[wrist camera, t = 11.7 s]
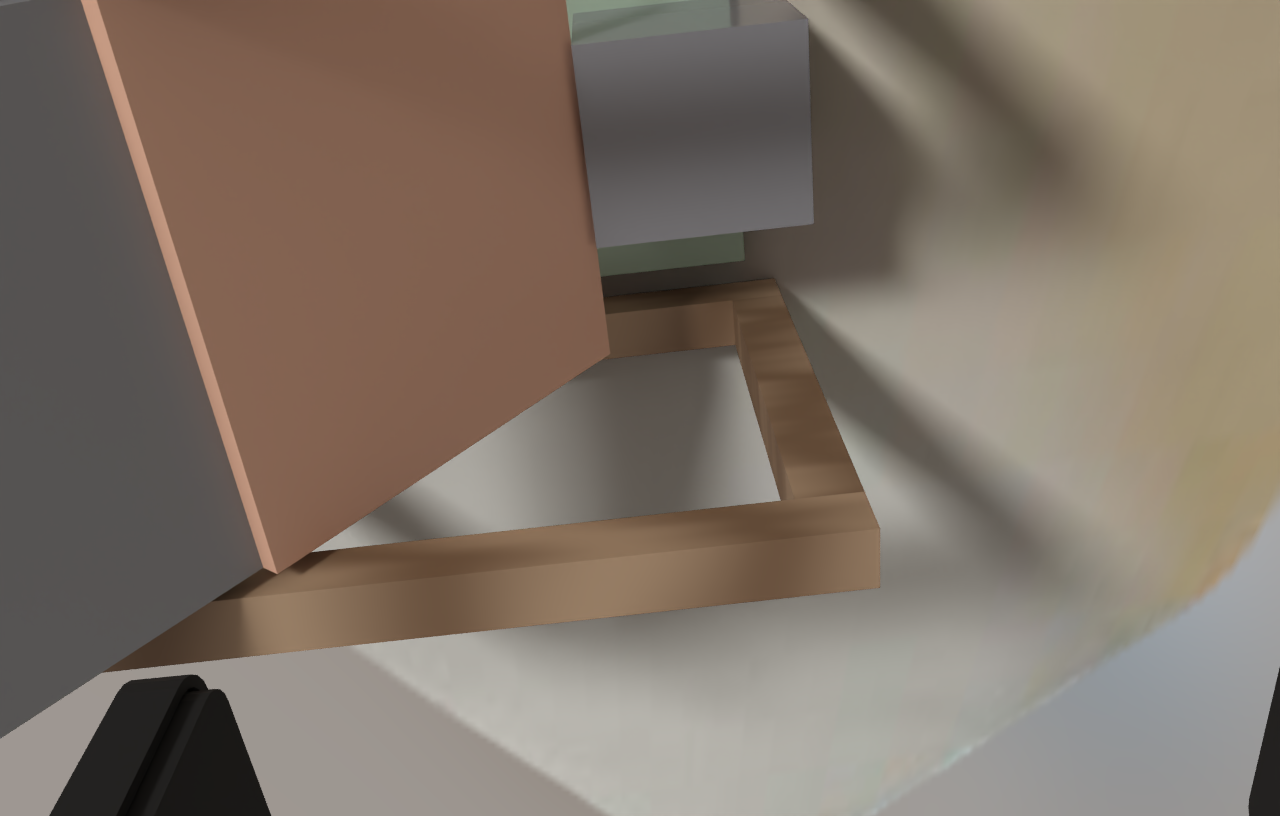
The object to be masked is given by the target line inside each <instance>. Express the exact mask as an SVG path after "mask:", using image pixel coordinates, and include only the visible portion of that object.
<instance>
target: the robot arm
mask: <svg viewBox="0 0 1280 816" xmlns="http://www.w3.org/2000/svg"><path fill="white" fill-rule="evenodd" d="M50 816H271V814H270V811H269V809H268V806H267V803H266V801H265V798H264V795H263V793H262V790H261V787H260V784H259V782H258V779H257V776H256V774H255V771H254V768H253V766H252V763H251V761H250V758H249V755H248V752H247V750H246V747H245V744H244V742H243V739H242V736H241V733H240V731H239V728H238V725H237V723H236V720H235V717H234V715H233V712H232V709H231V707H230V704H229V701H228V700H227V698H226V695H225V693H224V692H222V691H221V690H220V689H212V690H208V688H207V686H206V684H205V682H204V681H203V680H202V679H201V678H200V677H199V676H198V675H181V676H171V677H162V678H151V679H141V680H131V681H129V682H128V683H126V684H124V685H123V686H122V688H121V689H120V690H119V691H118V693H117V694H116V696H115V698H114V700H113V702H112V703H111V705H110V707H109V709H108V711H107V712H106V714H105V716H104V718H103V720H102V721H101V723H100V725H99V727H98V729H97V731H96V732H95V734H94V736H93V738H92V740H91V741H90V743H89V745H88V747H87V749H86V750H85V752H84V754H83V756H82V758H81V759H80V761H79V763H78V765H77V767H76V768H75V770H74V772H73V774H72V776H71V778H70V779H69V781H68V783H67V785H66V786H65V788H64V790H63V792H62V794H61V796H60V798H59V799H58V801H57V803H56V805H55V806H54V809H53V810H52V812H51V814H50ZM1249 816H1280V668H1279V673H1278V677H1277V682H1276V686H1275V690H1274V694H1273V699H1272V703H1271V707H1270V711H1269V716H1268V720H1267V724H1266V729H1265V733H1264V738H1263V742H1262V746H1261V750H1260V755H1259V759H1258V764H1257V768H1256V772H1255V776H1254V781H1253V785H1252V789H1251V794H1250V798H1249Z"/></svg>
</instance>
